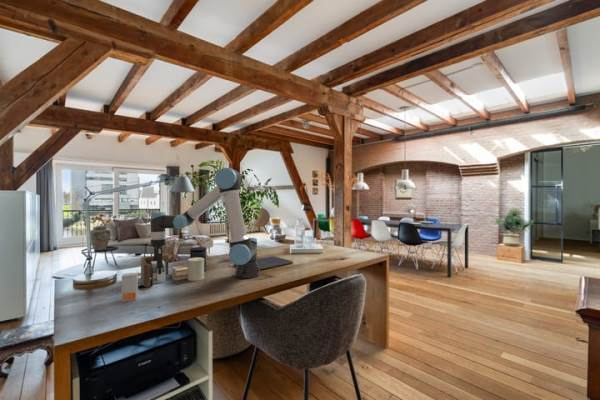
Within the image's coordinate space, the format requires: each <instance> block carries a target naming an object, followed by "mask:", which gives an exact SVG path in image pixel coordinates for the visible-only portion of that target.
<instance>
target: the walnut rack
mask: <svg viewBox="0 0 600 400" xmlns="http://www.w3.org/2000/svg"><path fill="white" fill-rule="evenodd" d="M162 259H163V261H164V262H165V270H166V276H167V275H169V272H170V271H169V254H162ZM151 261H154V255H152V256H143V257H142V256H141V257H140V279H141V281H142V285H143V284H144V285H143V288H144V287H146V288H151Z"/></svg>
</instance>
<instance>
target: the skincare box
mask: <svg viewBox="0 0 600 400" xmlns="http://www.w3.org/2000/svg"><path fill="white" fill-rule="evenodd" d="M138 274H139V273H138V272H129V273H123V274H122V275H121V302H122V303H123V302H132V301H137V299H138V294H139V293H138V292H139V291H138V290H139V288H138V286H139V285H138V283H139V282H138V281H139V280H138V279H139V278H138V277H139V275H138Z"/></svg>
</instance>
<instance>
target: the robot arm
mask: <svg viewBox="0 0 600 400" xmlns="http://www.w3.org/2000/svg"><path fill="white" fill-rule="evenodd" d="M214 182H215V185H216V186H215V187H214V188H213V189H211V190H210V191H209V192H208V193H207V194H205V195H204V196H203V197H201V198H200V199H199V200H198V201H197V202H196V203H194V204H193V205H192V206H191V207H189V208H188V209H187V210H186V211H184V212H183V213H181V214H175V215H173V214H172V215H167V214H166V211H151V213H150V220H149V221H150V233H149V236H150V247H153V256H154V261H157V267H156V269H157V280H162V268H163V259H162V255H163V248H162V247H164V246H166V229H176V230H177V229H178V230H180V229H185V228H186V227H189V226H191V225H193V224H194V223H195V220H197V219H199V217H200V216H202V215H203V214H204V213H205V212H207V211H208V210H209V209H210V208H211V207H213V206H214V205H215V204H217V203H218V202H219V201H220V200H221V199H223V202H224V207H225V212H226V217H227V223H228V228H229V233H230V234H229V235H230V240H229V242H228V244H229V251H228V258H229V260H230V261H231V262H232V263H233V264H235V265H236V267H235V271H234V277H236V278H238V279H254V278H257V277H259V276H260V275H261V270H260V266H259V264H258V239H257V238H256V237H250V236H249V235H247V231H246V227H245V226H246V225H245V220H244V215H243V209H242V204H241V200H240V192H241V191H242V190H241V186H242V183H243V176H242V174H241V173H240V172H239V171H238V170H235V169H233V168H232V167H223V168H220V169H219V170H217V171H216V173H215V175H214ZM159 265H161V266H159Z"/></svg>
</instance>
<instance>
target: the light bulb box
mask: <svg viewBox="0 0 600 400" xmlns="http://www.w3.org/2000/svg"><path fill="white" fill-rule="evenodd" d="M159 266H161V265H159ZM156 267H157V261H151V277H150V281H151V283H152V285H154V284H161V283H166V276H167V275H166V270H165V262H164V261H163V268H162V280H157V269H156Z"/></svg>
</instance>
